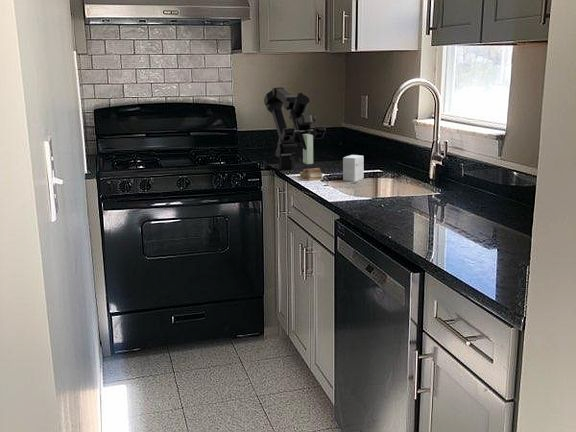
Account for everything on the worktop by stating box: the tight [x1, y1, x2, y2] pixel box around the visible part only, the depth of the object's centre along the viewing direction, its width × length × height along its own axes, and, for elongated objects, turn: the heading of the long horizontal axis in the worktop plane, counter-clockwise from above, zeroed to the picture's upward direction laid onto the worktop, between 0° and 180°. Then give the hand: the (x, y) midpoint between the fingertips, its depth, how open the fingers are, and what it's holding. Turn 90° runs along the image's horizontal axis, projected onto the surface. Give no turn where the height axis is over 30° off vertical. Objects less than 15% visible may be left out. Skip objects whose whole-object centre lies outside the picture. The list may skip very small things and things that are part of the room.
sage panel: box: [302, 134, 314, 165], centre depth 271 cm, size 5×3×12 cm, turn 21°
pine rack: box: [297, 167, 324, 182], centre depth 272 cm, size 12×7×5 cm, turn 21°
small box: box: [342, 154, 365, 184], centre depth 266 cm, size 8×6×10 cm
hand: (309, 149), depth 270 cm, fingers closed on sage panel, 3 cm apart
